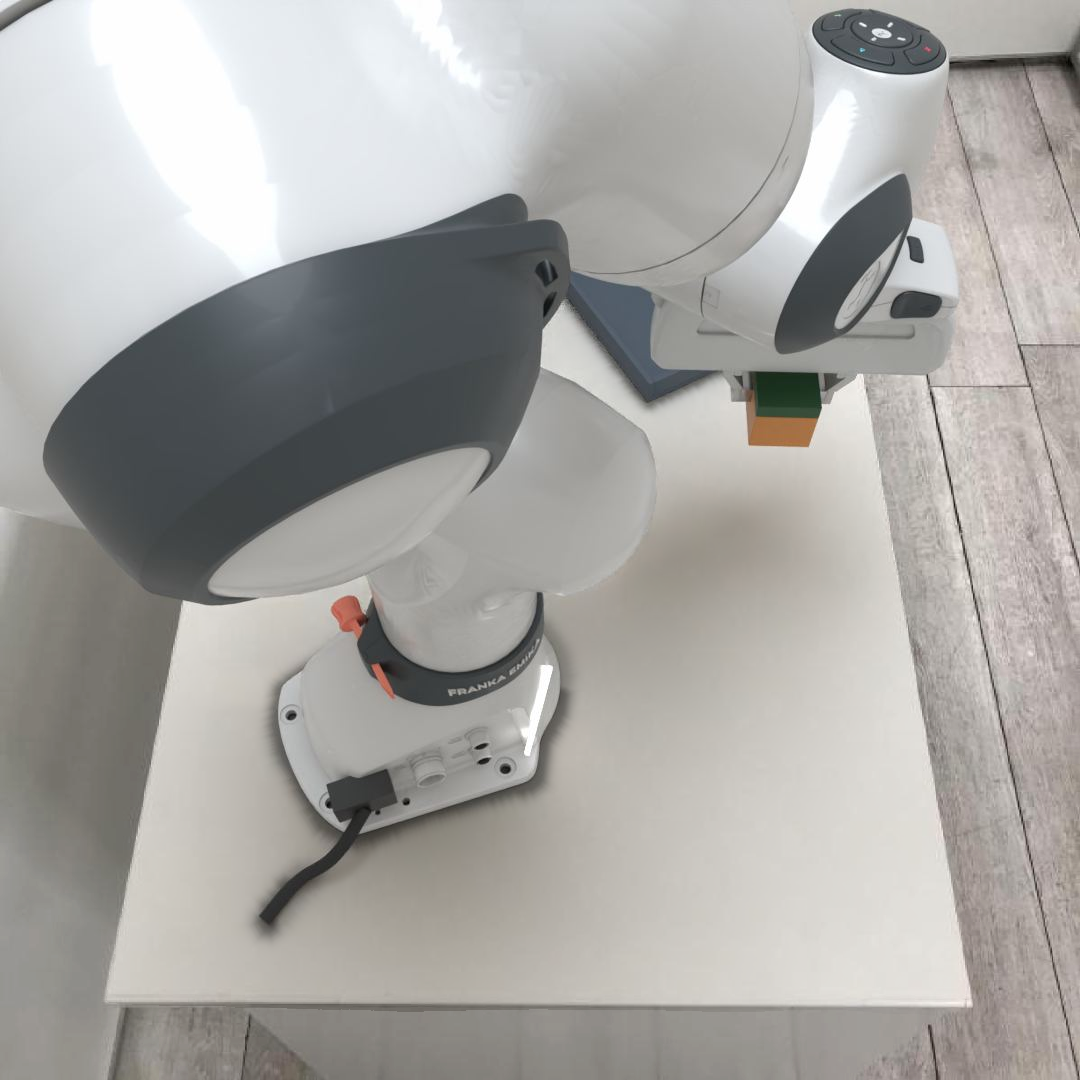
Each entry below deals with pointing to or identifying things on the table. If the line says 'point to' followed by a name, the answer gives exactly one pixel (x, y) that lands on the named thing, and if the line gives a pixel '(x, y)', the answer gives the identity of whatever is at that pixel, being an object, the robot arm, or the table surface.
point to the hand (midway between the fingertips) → (779, 396)
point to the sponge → (783, 409)
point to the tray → (626, 332)
